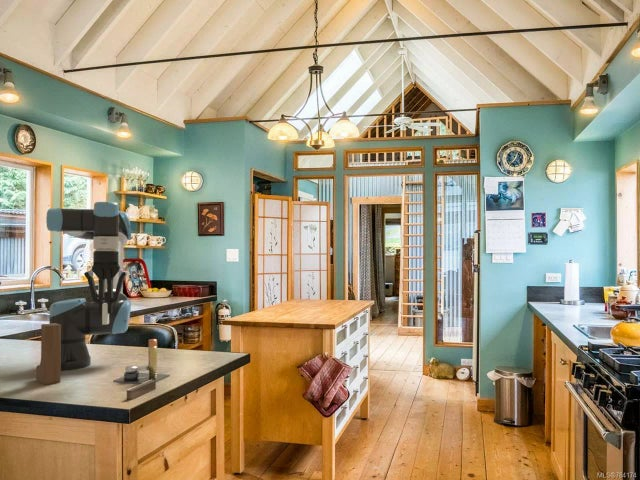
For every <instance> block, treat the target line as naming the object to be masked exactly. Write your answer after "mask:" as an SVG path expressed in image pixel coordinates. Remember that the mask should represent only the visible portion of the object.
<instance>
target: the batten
mask: <svg viewBox="0 0 640 480" xmlns="http://www.w3.org/2000/svg"><path fill="white" fill-rule="evenodd" d="M156 387H157V382H156V381H154V380H149V381H146V382H144V383H142V384H138V385H134V386H132V387H129V388H128V389H126V400H129V401H130V400H131V401H132V400H134V399H136V398H139V397H140V396H141V397H142V396H144V395H145V394H147V393H150V392H152V391H154V390H156V389H157V388H156Z"/></svg>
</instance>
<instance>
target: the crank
mask: <svg viewBox="0 0 640 480" xmlns="http://www.w3.org/2000/svg"><path fill="white" fill-rule="evenodd" d="M150 346H157V347H158V339H157V338H151V339H148V348H149V347H150ZM147 358H148V359H147V360H148V361H147V362H148V364H147V365H139V366H138V365H129V366H125V372H126V373H136V372H144V371H149V349H148V357H147Z"/></svg>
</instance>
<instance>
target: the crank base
mask: <svg viewBox="0 0 640 480" xmlns="http://www.w3.org/2000/svg"><path fill="white" fill-rule="evenodd" d="M148 350H149V370H148V373H147V372H140V371H138V372H136V373H126V371H125V372H124V373H123V376H121V377H119V378H116V379H113V381H112V382H113V383H122V384H123V383H125V384H138V385H139V384H142V383H144V382H146V381H149V380H154V381H156V383H157V382H159V381H161V380H163V379H166V378H169V377H170V376H171V374H165V373H164V374H163V373H158V345H157V346H150V347H149V346H148Z"/></svg>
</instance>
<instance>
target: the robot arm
mask: <svg viewBox="0 0 640 480" xmlns="http://www.w3.org/2000/svg"><path fill="white" fill-rule="evenodd" d="M119 208H120V207H119V204H118V202H116V201H96V202H94V204H93V208H91V209H89V208H88V209H87V208H85V209H84V208H80V209H79V208H59V207H57V208H48V210H47V211H46V221H45V222H46V223H45V224H46V228H47V230H48V231H50V232H64V233H65V234H66V235H68V236H70V237H73V238H77V239H82V240H93V242H92V243H93V250H94V251H93V252H92V253H93V257H92V259H93V263H92V266H91V269H90V270H88V271H85V272H84V273H83V274H84V276H85V278H86V279H87V282H88V286H89V291H90V294H91V299H92V301H87V300H86V298H85V297H80V298H79V297H78V298H72V299H71V298H70V299H64V300H60V301H56V302H53V303H52V304H50V306H49V315H48V318H49V324H51V323H57V324H60V325H61V371H69V370H77V369H81V368H85V367H89V366H90V365H91V364H92V358H91V356H90V352H89V349H88V346H87V341H86V339H87V337H86V336H91V335H92V336H93V335H115V334H123V333H126V332H127V331H128V328H129V323H130V318H131V308H132V302H131V300H128V298H127V296H126V295H125V294H124V293H123V290H124V280H125V278H126V276H127V275H128V272H127V271H124V246H126V244H127V243H128V241H130V240H131V239H132V229H131V220H130V215H129V213H128V212H126V211H120V209H119ZM94 276H96V278H98V283H97V284H98V287H96V284H95V279H94ZM97 288H98V289H97Z"/></svg>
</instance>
